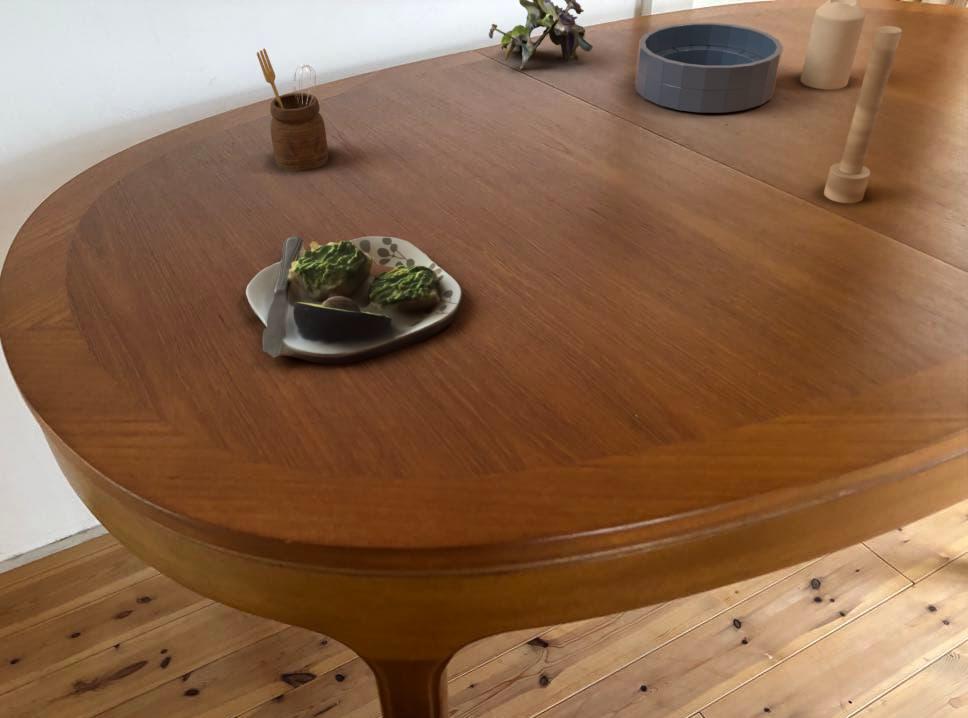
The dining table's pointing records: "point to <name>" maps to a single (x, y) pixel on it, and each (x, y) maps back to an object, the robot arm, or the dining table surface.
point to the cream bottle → (833, 44)
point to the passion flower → (556, 25)
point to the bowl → (707, 67)
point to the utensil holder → (295, 125)
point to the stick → (864, 121)
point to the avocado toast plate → (351, 299)
